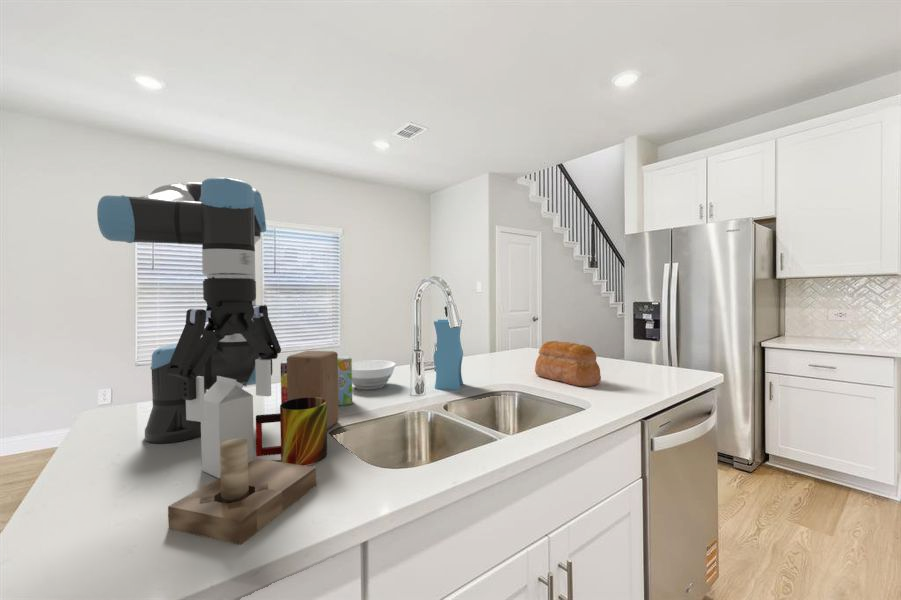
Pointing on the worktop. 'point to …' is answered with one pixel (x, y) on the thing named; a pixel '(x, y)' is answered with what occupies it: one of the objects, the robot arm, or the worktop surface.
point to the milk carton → (225, 421)
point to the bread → (568, 363)
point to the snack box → (343, 381)
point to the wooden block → (315, 379)
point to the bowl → (371, 373)
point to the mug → (297, 431)
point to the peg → (234, 470)
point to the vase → (448, 356)
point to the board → (243, 502)
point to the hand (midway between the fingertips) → (233, 406)
